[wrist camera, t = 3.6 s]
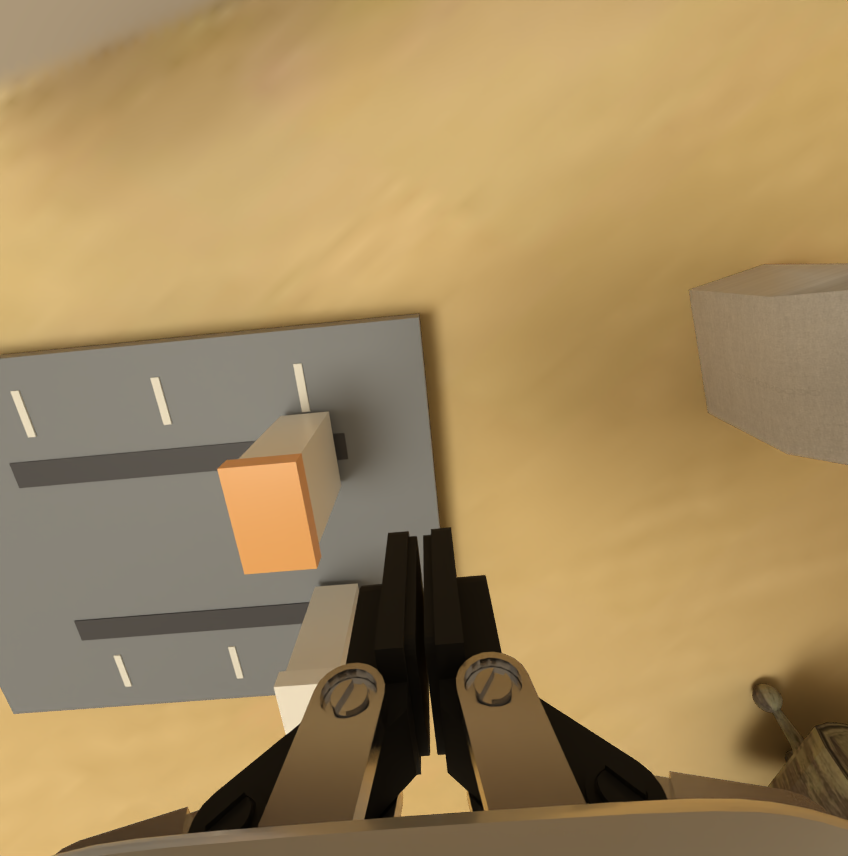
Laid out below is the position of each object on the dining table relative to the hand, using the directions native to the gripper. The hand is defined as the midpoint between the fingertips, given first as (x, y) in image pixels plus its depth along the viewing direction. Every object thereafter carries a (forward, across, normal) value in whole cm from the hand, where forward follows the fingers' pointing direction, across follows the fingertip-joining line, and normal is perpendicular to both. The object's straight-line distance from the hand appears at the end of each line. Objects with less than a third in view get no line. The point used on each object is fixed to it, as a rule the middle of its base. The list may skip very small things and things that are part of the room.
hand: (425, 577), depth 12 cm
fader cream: (+11, +6, +11) cm, 17 cm away
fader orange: (+12, +6, +1) cm, 13 cm away
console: (+14, +14, +6) cm, 20 cm away
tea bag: (+14, -16, -2) cm, 22 cm away
